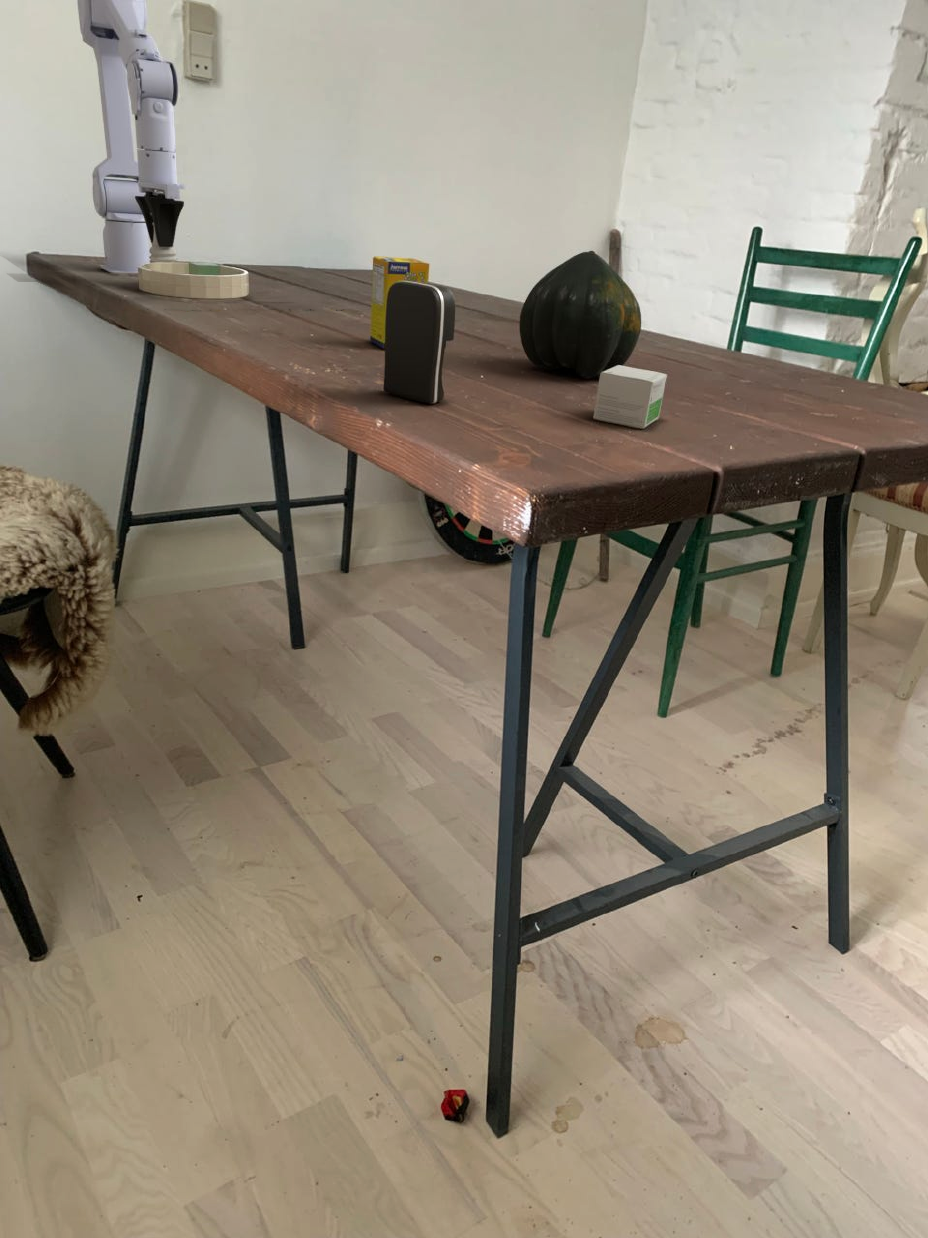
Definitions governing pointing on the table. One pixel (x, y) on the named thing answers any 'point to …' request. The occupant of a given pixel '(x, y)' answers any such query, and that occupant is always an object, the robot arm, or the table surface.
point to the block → (204, 268)
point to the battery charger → (417, 339)
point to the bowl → (192, 281)
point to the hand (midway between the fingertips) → (162, 245)
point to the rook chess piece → (162, 252)
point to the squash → (580, 318)
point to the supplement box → (382, 280)
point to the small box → (629, 396)
